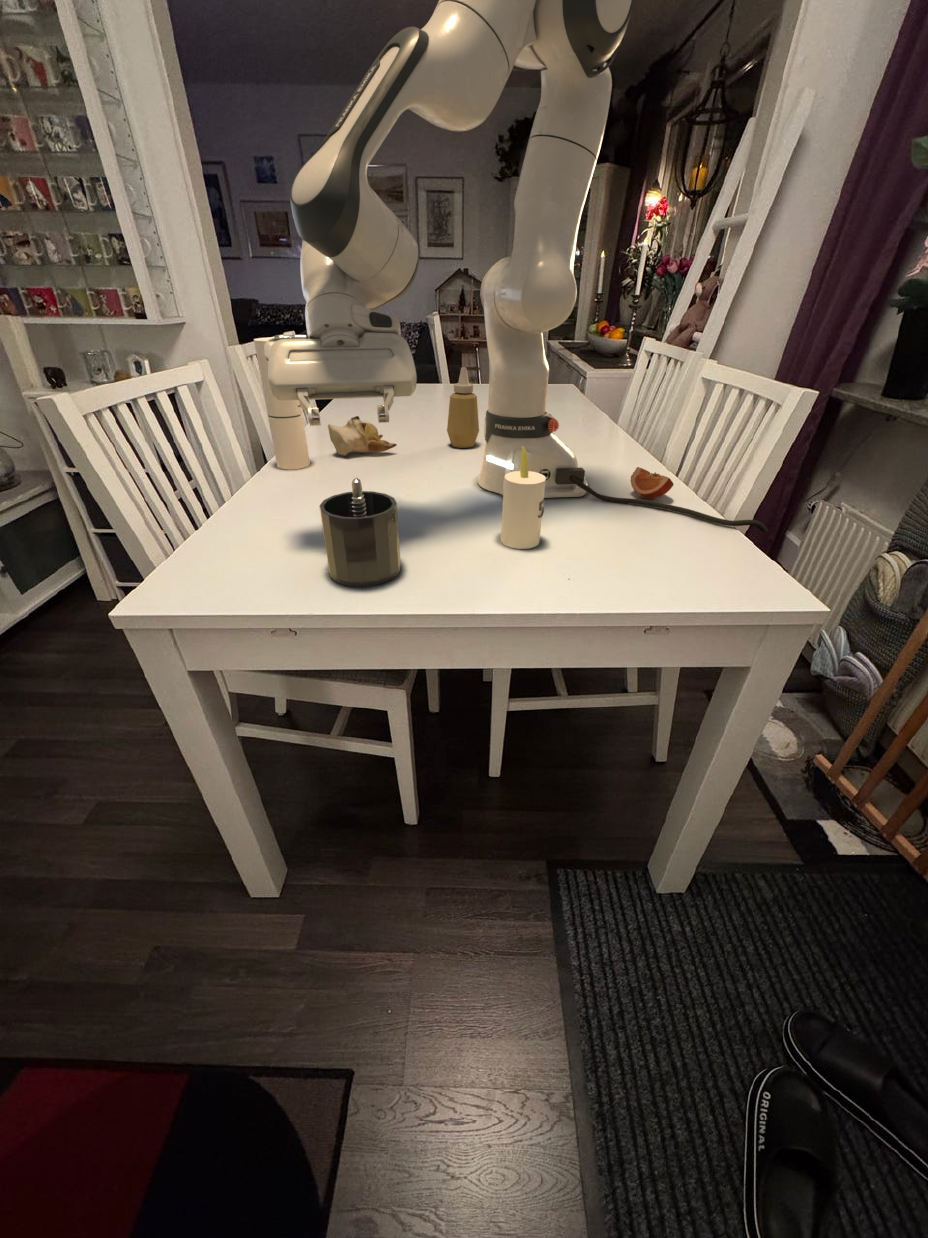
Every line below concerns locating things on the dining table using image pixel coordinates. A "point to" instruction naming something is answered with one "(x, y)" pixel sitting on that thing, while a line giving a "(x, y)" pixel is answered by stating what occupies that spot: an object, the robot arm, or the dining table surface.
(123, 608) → the dining table surface
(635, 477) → the fruit slice
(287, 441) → the cylindrical container
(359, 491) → the screw
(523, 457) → the candle
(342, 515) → the holder
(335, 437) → the ceramic sculpture
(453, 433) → the squeeze bottle
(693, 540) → the dining table surface
